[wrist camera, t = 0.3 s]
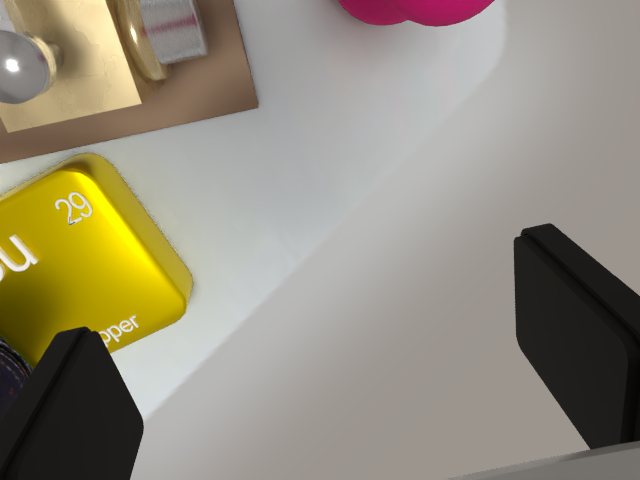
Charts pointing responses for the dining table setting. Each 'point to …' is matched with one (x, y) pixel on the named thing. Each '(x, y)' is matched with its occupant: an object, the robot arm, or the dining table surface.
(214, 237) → the dining table surface
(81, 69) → the ball valve
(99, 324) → the element tile
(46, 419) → the robot arm
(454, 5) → the pepper mill
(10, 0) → the valve lever
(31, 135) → the valve board
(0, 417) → the black ridged cylinder
